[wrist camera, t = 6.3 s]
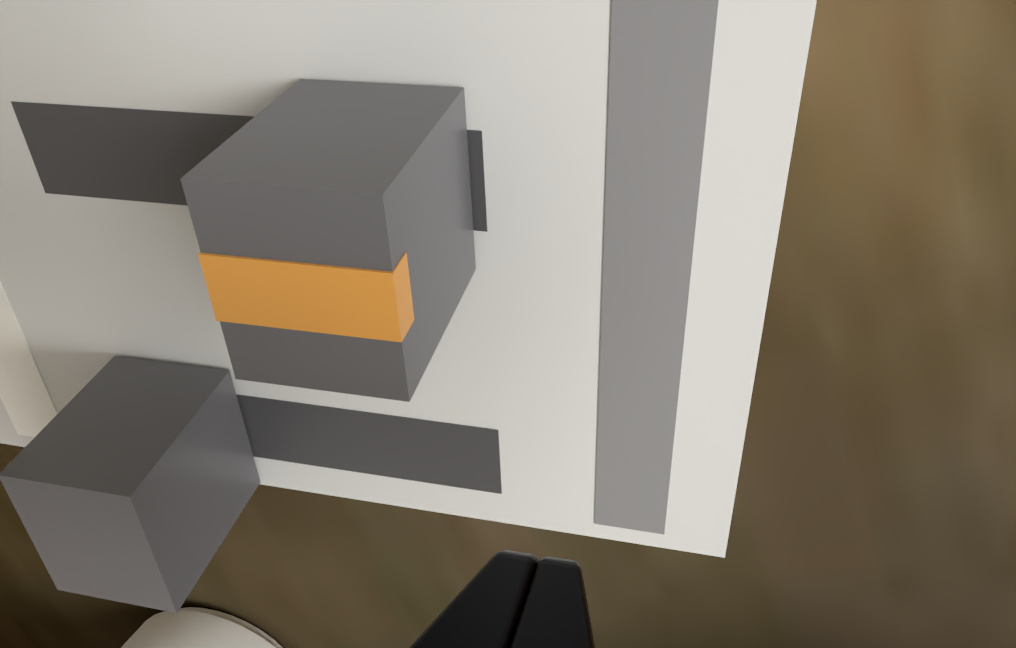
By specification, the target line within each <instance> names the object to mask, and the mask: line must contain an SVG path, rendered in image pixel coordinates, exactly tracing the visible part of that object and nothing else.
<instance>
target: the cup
mask: <svg viewBox="0 0 1016 648" xmlns="http://www.w3.org/2000/svg"><path fill="white" fill-rule="evenodd" d="M121 648H283V647H282V646H281V645H280V644H279V643H277V642H276V641H275V640H274V639H273V638H272V637H270V636H269V635H268V634H266V633H265V632H263V631H262V630H260V629H259V628H257V627H255V626H253V625H252V624H250V623H248V622H246V621H244V620H242V619H239V618H237V617H235V616H233V615H229V614H226V613H223V612H220V611H217V610H212V609H207V608H197V607H186V608H180V609H179V611H178V612H177V613H173V612H168V611H164V612H161V613H158V614H155V615H153V616H152V617H150V618H149V619H147V620H146V621H145V622H144V623H143V624H142V625H141V626H140V627H139V629H138V630H137V631H136V632H135V633H134V634H133V635H132V636H131V637H130V638H129V639H128V640H127V642H126V643H125V644H124V645H123V646H122V647H121Z"/></svg>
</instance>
